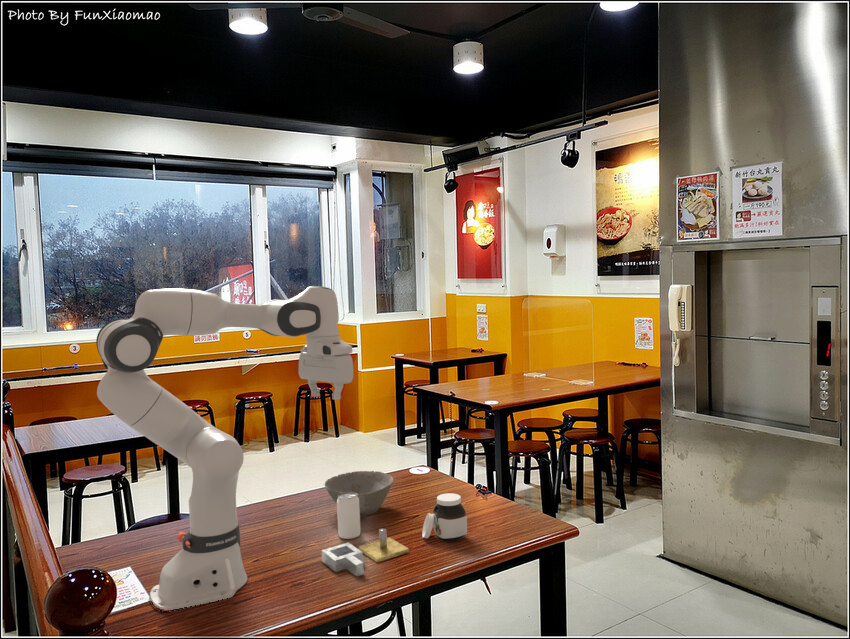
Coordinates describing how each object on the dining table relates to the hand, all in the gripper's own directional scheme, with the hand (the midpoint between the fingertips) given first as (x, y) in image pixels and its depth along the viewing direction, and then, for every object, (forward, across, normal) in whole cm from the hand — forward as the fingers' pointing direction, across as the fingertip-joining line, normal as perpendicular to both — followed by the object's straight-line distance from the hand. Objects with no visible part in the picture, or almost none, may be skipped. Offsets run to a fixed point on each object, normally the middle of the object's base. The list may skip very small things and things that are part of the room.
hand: (325, 397), depth 169 cm
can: (+43, -7, +11) cm, 45 cm away
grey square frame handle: (+43, +9, -2) cm, 44 cm away
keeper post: (+43, +10, +10) cm, 45 cm away
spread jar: (+43, +16, +27) cm, 53 cm away
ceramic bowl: (+43, -19, +26) cm, 54 cm away
